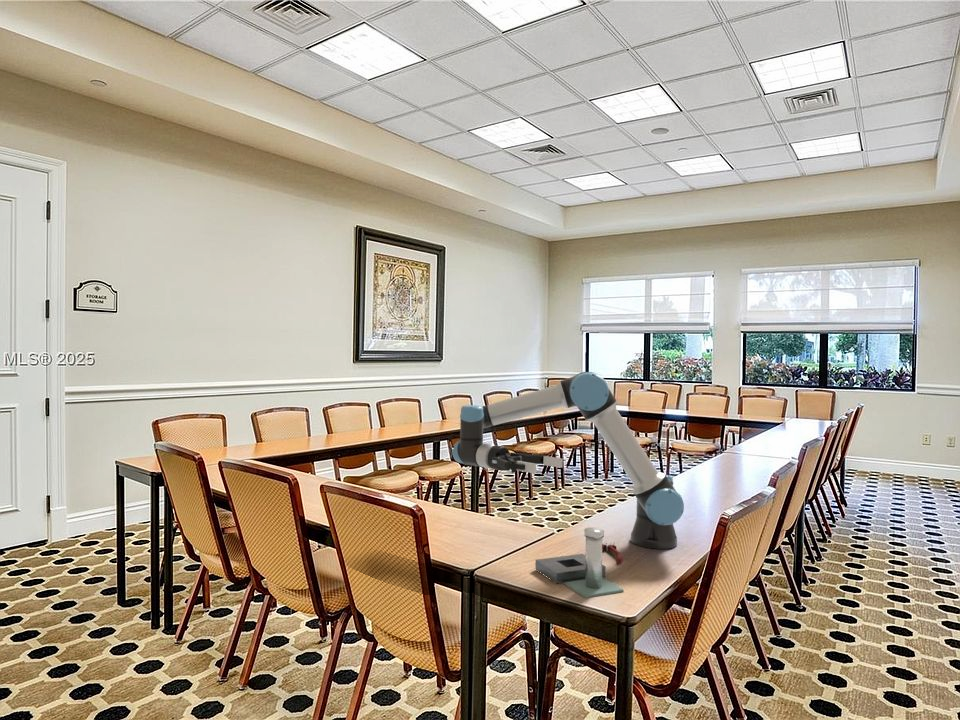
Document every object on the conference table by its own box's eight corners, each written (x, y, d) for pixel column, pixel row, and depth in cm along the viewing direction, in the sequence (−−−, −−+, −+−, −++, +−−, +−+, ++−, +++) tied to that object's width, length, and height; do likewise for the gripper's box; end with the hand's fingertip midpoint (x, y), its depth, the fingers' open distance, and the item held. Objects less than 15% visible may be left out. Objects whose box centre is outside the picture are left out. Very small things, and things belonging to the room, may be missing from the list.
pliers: (627, 547, 205) (627, 539, 205) (621, 566, 186) (621, 558, 186) (592, 543, 208) (592, 535, 208) (583, 562, 189) (583, 553, 189)
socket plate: (582, 563, 186) (582, 553, 186) (605, 576, 175) (605, 566, 175) (535, 570, 180) (535, 559, 180) (556, 584, 169) (556, 573, 169)
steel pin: (596, 581, 170) (596, 526, 170) (607, 587, 165) (607, 531, 165) (580, 583, 168) (580, 528, 167) (591, 590, 163) (591, 533, 163)
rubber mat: (601, 579, 173) (601, 576, 173) (623, 591, 164) (623, 589, 164) (564, 584, 168) (564, 582, 168) (585, 597, 159) (585, 595, 159)
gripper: (517, 464, 206) (571, 473, 192) (467, 473, 187) (522, 484, 173) (518, 441, 206) (572, 448, 192) (467, 449, 187) (523, 457, 173)
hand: (549, 465), depth 182 cm, fingers open, 13 cm apart
